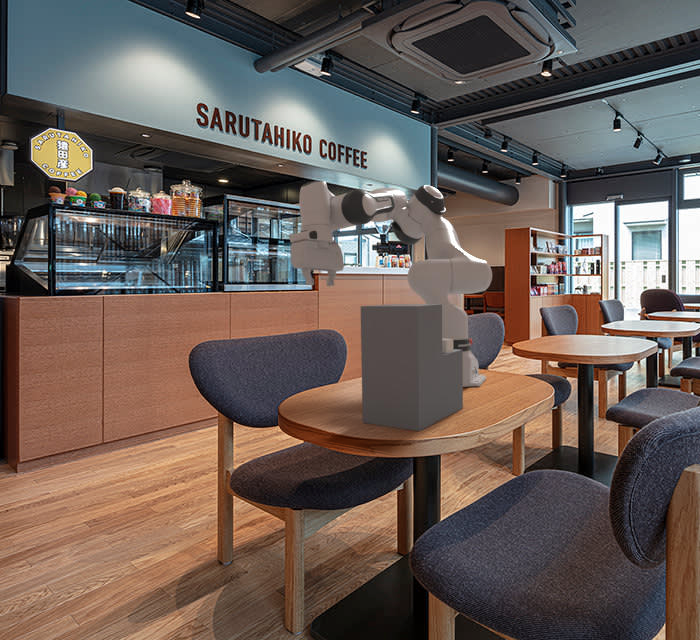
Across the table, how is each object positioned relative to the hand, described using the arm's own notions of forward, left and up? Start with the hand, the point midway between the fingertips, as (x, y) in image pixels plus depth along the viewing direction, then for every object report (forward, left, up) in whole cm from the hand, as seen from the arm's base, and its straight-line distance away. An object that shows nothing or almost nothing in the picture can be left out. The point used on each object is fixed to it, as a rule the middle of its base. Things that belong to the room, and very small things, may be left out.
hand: (320, 285), depth 145 cm
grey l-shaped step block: (+10, +35, -31) cm, 48 cm away
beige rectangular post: (+4, +31, -17) cm, 35 cm away
